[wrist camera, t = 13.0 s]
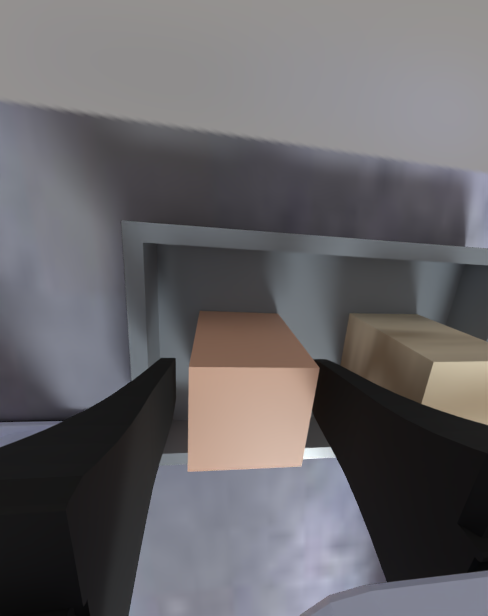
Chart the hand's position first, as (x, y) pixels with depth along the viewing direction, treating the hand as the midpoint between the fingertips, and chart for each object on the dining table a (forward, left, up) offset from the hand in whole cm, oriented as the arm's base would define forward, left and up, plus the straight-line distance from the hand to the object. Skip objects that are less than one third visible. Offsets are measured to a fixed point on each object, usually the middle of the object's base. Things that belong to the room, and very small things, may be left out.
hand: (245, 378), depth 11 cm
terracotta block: (0, 0, -4) cm, 4 cm away
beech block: (0, -9, -4) cm, 10 cm away
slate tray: (0, -4, -5) cm, 7 cm away
